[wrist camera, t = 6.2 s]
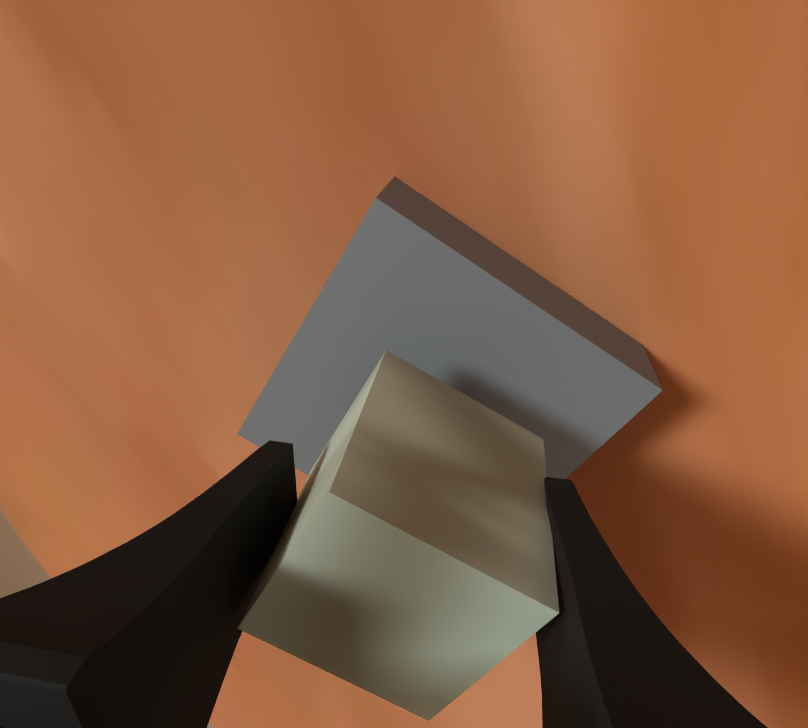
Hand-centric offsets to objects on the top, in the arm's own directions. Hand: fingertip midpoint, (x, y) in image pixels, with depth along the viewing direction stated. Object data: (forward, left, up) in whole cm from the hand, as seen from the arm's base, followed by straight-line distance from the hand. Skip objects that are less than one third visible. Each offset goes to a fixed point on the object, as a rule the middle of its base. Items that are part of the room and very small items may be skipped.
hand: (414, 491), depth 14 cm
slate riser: (0, 0, -6) cm, 6 cm away
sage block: (0, 0, -1) cm, 1 cm away
